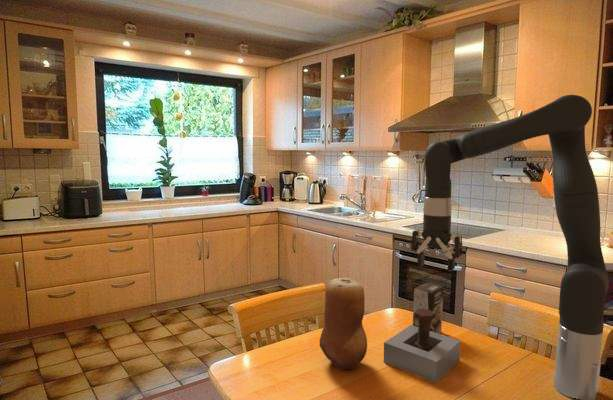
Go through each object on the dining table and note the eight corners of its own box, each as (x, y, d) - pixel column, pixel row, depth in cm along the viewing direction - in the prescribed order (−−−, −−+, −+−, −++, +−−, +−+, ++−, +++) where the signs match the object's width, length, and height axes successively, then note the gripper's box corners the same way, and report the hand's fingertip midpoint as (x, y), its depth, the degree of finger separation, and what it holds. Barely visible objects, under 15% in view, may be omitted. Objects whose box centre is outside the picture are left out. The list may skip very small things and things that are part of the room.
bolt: (431, 357, 123) (433, 309, 121) (434, 366, 118) (436, 316, 116) (411, 355, 124) (413, 308, 122) (413, 364, 119) (415, 315, 117)
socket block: (459, 360, 121) (460, 340, 121) (435, 383, 110) (436, 361, 109) (409, 342, 132) (410, 324, 131) (383, 361, 120) (384, 342, 119)
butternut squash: (375, 362, 119) (378, 279, 116) (350, 383, 109) (351, 292, 106) (336, 347, 128) (337, 270, 125) (309, 365, 118) (309, 281, 115)
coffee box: (429, 340, 133) (431, 292, 131) (411, 334, 138) (413, 288, 135) (442, 331, 140) (444, 285, 138) (424, 326, 144) (426, 281, 142)
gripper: (467, 213, 115) (464, 270, 117) (419, 209, 124) (418, 261, 126) (457, 217, 109) (454, 276, 111) (408, 212, 119) (406, 266, 121)
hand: (435, 268), depth 119 cm, fingers open, 8 cm apart
